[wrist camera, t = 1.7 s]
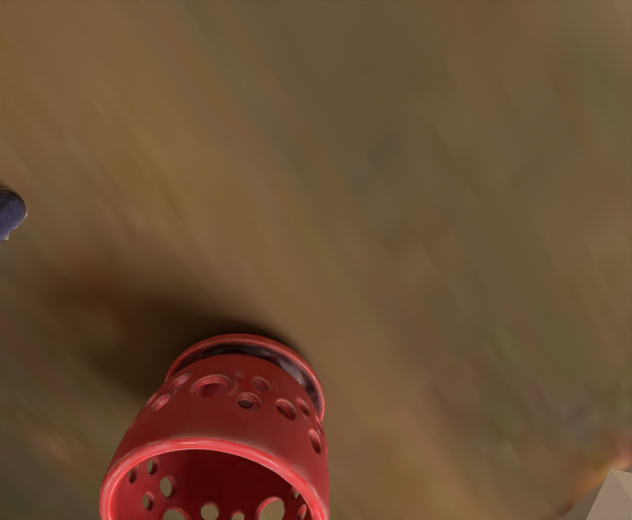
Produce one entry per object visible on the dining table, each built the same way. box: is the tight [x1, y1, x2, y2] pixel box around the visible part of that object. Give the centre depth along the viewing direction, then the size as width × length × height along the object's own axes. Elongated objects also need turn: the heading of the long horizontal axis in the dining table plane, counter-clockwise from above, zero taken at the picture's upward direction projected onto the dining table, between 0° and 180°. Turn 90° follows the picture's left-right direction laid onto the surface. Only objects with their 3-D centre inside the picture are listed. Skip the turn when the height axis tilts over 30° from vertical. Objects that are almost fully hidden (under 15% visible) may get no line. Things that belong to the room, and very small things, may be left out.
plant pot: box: [99, 334, 330, 520], centre depth 36 cm, size 13×13×12 cm
